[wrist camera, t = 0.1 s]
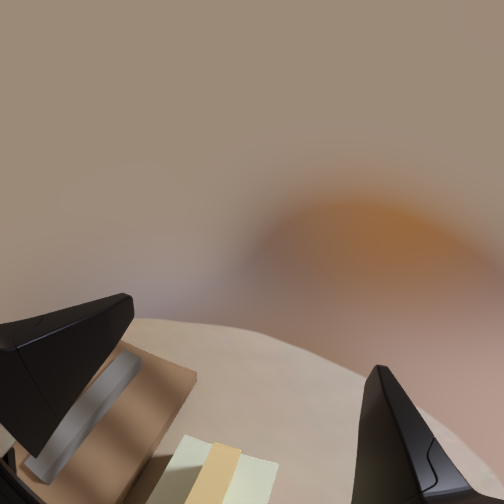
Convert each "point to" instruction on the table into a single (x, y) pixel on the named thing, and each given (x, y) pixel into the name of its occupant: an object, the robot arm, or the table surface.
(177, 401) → the board
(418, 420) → the robot arm
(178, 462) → the sage block
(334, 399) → the table surface
